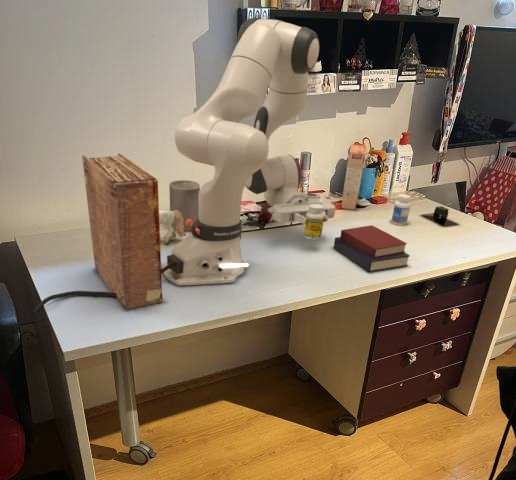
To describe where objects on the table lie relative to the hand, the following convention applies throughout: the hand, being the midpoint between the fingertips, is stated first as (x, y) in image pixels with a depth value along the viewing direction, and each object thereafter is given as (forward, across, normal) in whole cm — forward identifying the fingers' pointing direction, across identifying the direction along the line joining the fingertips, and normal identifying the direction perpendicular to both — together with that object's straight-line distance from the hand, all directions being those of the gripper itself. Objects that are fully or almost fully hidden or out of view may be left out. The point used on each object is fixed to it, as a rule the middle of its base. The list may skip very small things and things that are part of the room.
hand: (316, 220), depth 160 cm
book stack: (+10, +14, +9) cm, 20 cm away
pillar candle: (-31, -31, +10) cm, 45 cm away
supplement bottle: (-1, 0, +6) cm, 6 cm away
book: (+6, -59, +10) cm, 60 cm away
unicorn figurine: (-18, -45, +10) cm, 49 cm away
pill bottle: (-13, +43, +9) cm, 46 cm away
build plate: (-11, +60, +9) cm, 62 cm away
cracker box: (-36, +37, +10) cm, 53 cm away
